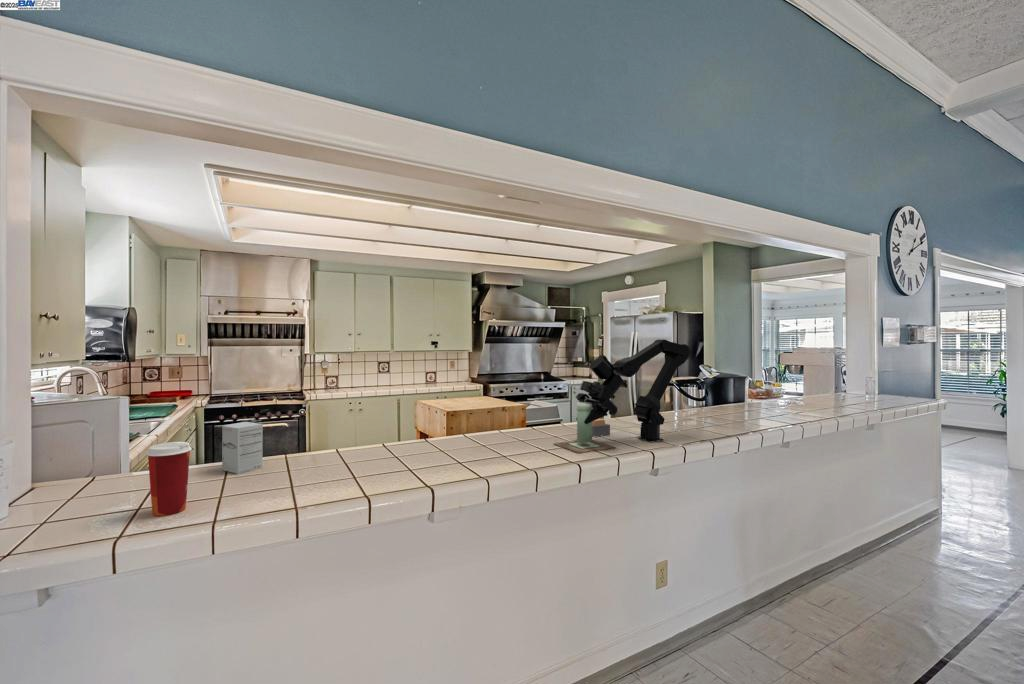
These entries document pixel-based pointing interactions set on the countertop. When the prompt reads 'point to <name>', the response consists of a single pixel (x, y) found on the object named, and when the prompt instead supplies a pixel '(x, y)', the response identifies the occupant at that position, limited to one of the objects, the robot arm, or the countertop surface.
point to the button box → (601, 430)
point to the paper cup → (168, 477)
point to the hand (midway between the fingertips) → (581, 421)
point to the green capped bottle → (583, 429)
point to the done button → (598, 422)
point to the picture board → (583, 446)
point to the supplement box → (242, 447)
